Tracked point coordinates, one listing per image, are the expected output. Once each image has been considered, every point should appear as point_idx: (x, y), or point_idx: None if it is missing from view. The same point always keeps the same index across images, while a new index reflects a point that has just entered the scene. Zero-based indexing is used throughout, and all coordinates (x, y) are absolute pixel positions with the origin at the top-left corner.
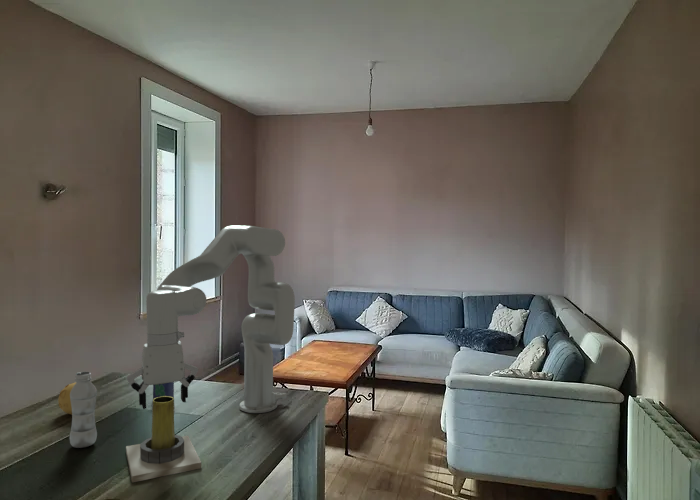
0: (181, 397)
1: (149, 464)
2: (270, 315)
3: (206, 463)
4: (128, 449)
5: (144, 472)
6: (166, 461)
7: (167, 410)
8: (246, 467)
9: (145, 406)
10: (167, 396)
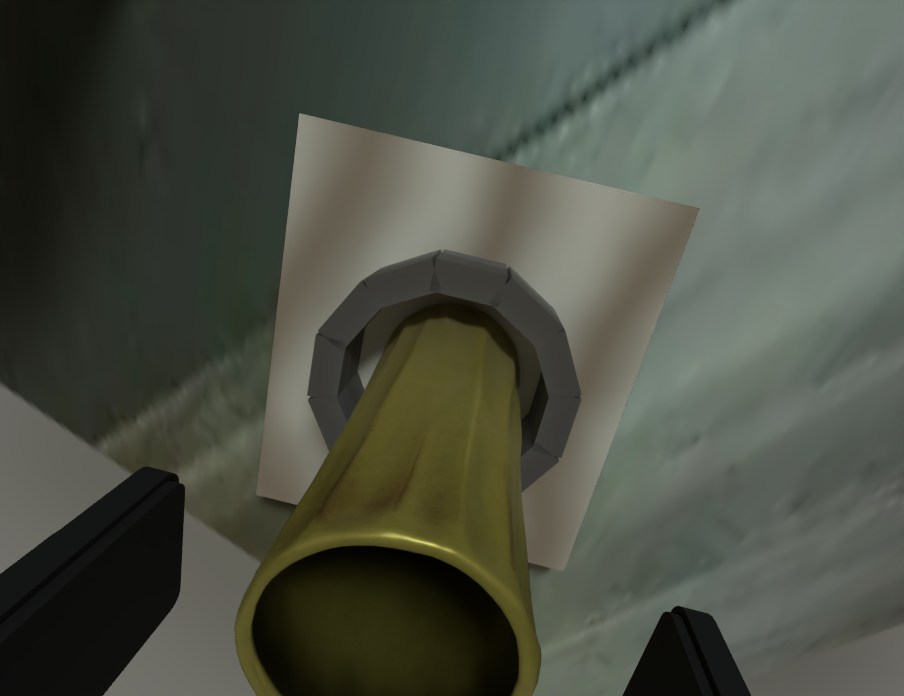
0: (659, 674)
1: None
2: None
3: (603, 526)
4: (302, 179)
5: None
6: None
7: (411, 663)
8: None
9: (153, 621)
10: (485, 587)
